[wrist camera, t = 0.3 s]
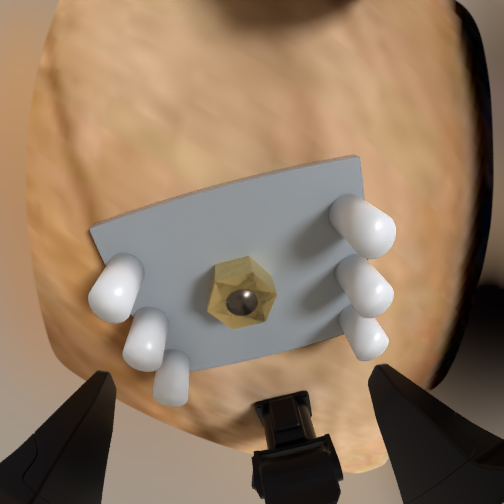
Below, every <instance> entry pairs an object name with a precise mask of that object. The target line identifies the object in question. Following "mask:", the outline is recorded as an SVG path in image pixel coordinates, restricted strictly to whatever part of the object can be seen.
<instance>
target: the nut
mask: <svg viewBox="0 0 504 504" xmlns="http://www.w3.org/2000/svg"><path fill="white" fill-rule="evenodd" d="M276 296H277V291H276V288H275V285H274V282H273V279H272V276H271V275H270V274H269V273H268V272H267V271H265V270H264V269H263V268H262V267H261V266H260V265H259V264H258V263H257V262H256V261H254V260H253V259H252V258H251V257H250V256H245V257H241V258H237V259H233V260H230V261H226V262H222V263H218V264H215V267H214V271H213V275H212V278H211V282H210V286H209V289H208V301H207V311H208V312H209V313H210V314H212V315H213V316H214V317H216V318H217V319H219V320H220V321H221V322H223V323H224V324H226V325H227V326H228V327H230V328H231V329H237V328H241V327H246V326H250V325H254V324H258V323H262V322H266V320H267V318H268V315H269V313H270V311H271V308H272V306H273V303H274V301H275V299H276Z"/></svg>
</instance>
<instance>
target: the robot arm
mask: <svg viewBox="0 0 504 504" xmlns="http://www.w3.org/2000/svg"><path fill="white" fill-rule="evenodd" d="M368 387H369V391H370V395H371V399H372V403H373V407H374V412H375V416H376V420H377V423H378V426H379V429H380V431H381V434H382V437H383V440H384V443H385V446H386V449H387V452H388V455H389V458H390V461H391V464H392V467H393V471H394V474H395V477H396V480H397V483H398V487H399V490H400V493H401V497H402V500H403V504H504V439H502V438H500V437H498V436H496V435H494V434H492V433H490V432H488V431H486V430H484V429H482V428H481V427H479V426H477V425H475V424H474V423H472V422H470V421H469V420H467V419H466V418H464V417H462V416H461V415H460V414H458V413H457V412H456V413H455V411H454V410H452V409H451V408H450V407H448V406H447V405H445V404H444V403H442V402H441V401H439V400H438V399H437V398H435V397H434V396H432V395H431V394H429V393H428V392H426V391H425V390H424V389H422V388H421V387H419V386H418V385H416V384H415V383H414V382H412V381H411V380H409V379H408V378H406V377H405V376H404V375H402V374H401V373H399V372H398V371H397V370H395V369H394V368H392V367H391V366H389V365H388V364H379V365H376V366H375V367H374V369H373V371H372V374H371V376H370V378H369V380H368ZM115 401H116V386H115V384H114V381H113V379H112V376H111V374H110V373H109V372H108V371H101V370H99V371H96V372H95V373H94V374H93V375H92V376H91V377H90V378H89V379H88V380H87V381H86V382H85V383H84V384H83V385H82V386H81V387H80V388H79V389H78V390H77V391H76V392H75V393H74V394H73V395H72V396H71V397H70V398H69V399H68V400H66V402H64V403H63V404H62V406H60V408H58V409H57V410H56V411H55V412H54V413H53V414H52V415H51V416H50V417H49V418H48V419H47V420H46V421H45V422H44V423H43V424H42V425H41V426H40V428H38V429H37V430H36V431H35V434H32V435H31V436H30V437H29V438H28V439H27V440H26V441H25V442H24V443H23V444H22V445H21V446H20V447H19V448H18V449H16V450H15V451H14V452H13V453H12V454H11V455H9V456H8V457H7V458H5V459H4V460H3V461H2V462H0V504H101V500H102V492H103V485H104V478H105V471H106V465H107V459H108V454H109V448H110V442H111V437H112V432H113V421H114V410H115ZM254 406H255V410H256V412H257V414H258V416H259V418H260V420H261V422H262V424H263V426H264V429H265V435H266V441H267V447H268V450H263V451H254V456H253V457H252V464H253V475H252V488H253V489H255V490H256V491H257V493H258V494H259V496H260V498H261V499H265V503H266V504H337V502H338V499H339V496H340V493H341V490H340V486H339V483H338V482H339V481H342V480H343V473H342V469H341V465H340V462H339V459H338V456H337V454H336V451H335V448H334V446H333V443H332V440H331V438H330V435H329V434H325V435H324V436H321V437H318V438H316V435H315V431H314V428H313V424H312V421H311V416H312V413H311V406H310V400H309V394H308V392H307V391H303V392H299V393H295V394H291V395H288V396H284V397H279V398H275V399H271V400H267V401H262V402H257V403H255V404H254Z"/></svg>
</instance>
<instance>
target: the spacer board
mask: <svg viewBox="0 0 504 504" xmlns="http://www.w3.org/2000/svg"><path fill="white" fill-rule="evenodd" d="M89 230H90V232H91V234H92V237H93V239H94V241H95V244H96V246H97V248H98V250H99V253H100V255H101V257H102V259H103V261H104V263H105V265H106V267H105V268H104V270H103V272H102V273H101V275H100V276H99V278H98V279H97V281H96V283H95V284H94V286H93V288H92V289H91V291H90V292H89V295H88V302H89V306H90V308H91V310H92V311H93V312H94V314H95V315H97V316H98V317H99V318H100V319H102V320H104V321H106V322H110V323H121V322H123V321H125V320H126V319H127V318H128V317H129V315H130V314H131V316H132V317H133V322H132V325H131V328H130V331H129V334H128V337H127V340H126V343H125V346H124V349H123V358H124V360H125V362H126V363H127V364H128V365H129V366H131V367H132V368H134V369H136V370H139V371H143V372H152V371H156V374H155V380H154V386H153V392H152V396H153V398H154V399H155V400H156V401H157V402H158V403H160V404H163V405H166V406H171V407H177V406H182V405H184V404H185V403H186V402H187V401H188V386H189V372H192V371H198V370H204V369H209V368H214V367H219V366H224V365H229V364H234V363H239V362H243V361H248V360H252V359H257V358H261V357H265V356H269V355H273V354H277V353H281V352H285V351H289V350H292V349H296V348H300V347H303V346H307V345H310V344H314V343H317V342H320V341H324V340H327V339H330V338H334V337H337V336H340V335H343V334H345V336H346V338H347V340H348V342H349V344H350V345H351V347H352V349H353V351H354V353H355V355H356V357H357V359H358V360H360V361H369V360H372V359H374V358H376V357H378V356H379V355H381V354H382V353H383V352H384V351H385V349H386V348H387V346H388V343H389V339H388V337H387V336H386V334H385V333H384V331H383V330H382V328H381V327H380V325H379V324H378V322H377V321H376V319H375V318H374V317H376V316H379V315H380V314H382V313H383V312H384V311H385V310H386V309H387V308H388V307H389V306H390V304H391V302H392V300H393V296H394V292H393V289H392V287H391V286H390V285H389V283H388V282H387V281H386V280H385V279H384V278H383V277H382V276H381V275H380V273H379V272H378V271H377V270H376V269H375V268H374V267H373V266H372V265H371V264H370V262H369V261H368V259H376V258H379V257H381V256H382V255H384V254H385V253H386V252H387V251H388V250H389V249H390V248H391V246H392V245H393V243H394V240H395V236H396V227H395V224H394V222H393V220H392V219H391V218H390V217H389V216H388V215H386V214H385V213H383V212H382V211H380V210H379V209H377V208H376V207H374V206H373V205H371V204H370V203H368V202H366V201H365V199H364V188H363V178H362V170H361V161H360V157H359V156H356V155H350V156H344V157H339V158H333V159H328V160H323V161H318V162H313V163H308V164H303V165H298V166H293V167H289V168H284V169H280V170H275V171H271V172H267V173H262V174H258V175H254V176H250V177H246V178H242V179H238V180H234V181H230V182H227V183H223V184H219V185H215V186H212V187H208V188H204V189H201V190H197V191H194V192H190V193H187V194H184V195H180V196H177V197H173V198H170V199H167V200H164V201H160V202H157V203H154V204H151V205H148V206H145V207H142V208H139V209H136V210H133V211H130V212H127V213H124V214H121V215H118V216H115V217H112V218H109V219H107V220H104V221H101V222H98V223H96V224H94V225H93V226H92V227H91V228H90V229H89ZM245 256H250V257H251V258H252V259H253V260H254V261H256V262H257V263H258V264H259V265H260V266H261V267H262V268H263V269H264V270H265V271H267V272H268V273H269V274H270V275H271V276H272V279H273V282H274V285H275V288H276V291H277V296H276V299H275V301H274V303H273V306H272V308H271V311H270V313H269V315H268V318H267V320H266V322H262V323H258V324H254V325H250V326H246V327H241V328H237V329H231V328H230V327H228V326H227V325H226V324H224V323H223V322H221V321H220V320H219V319H217V318H216V317H214V316H213V315H212V314H210V313H209V312H208V311H207V301H208V289H209V286H210V282H211V278H212V275H213V271H214V267H215V264H218V263H222V262H226V261H230V260H233V259H237V258H241V257H245Z"/></svg>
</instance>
